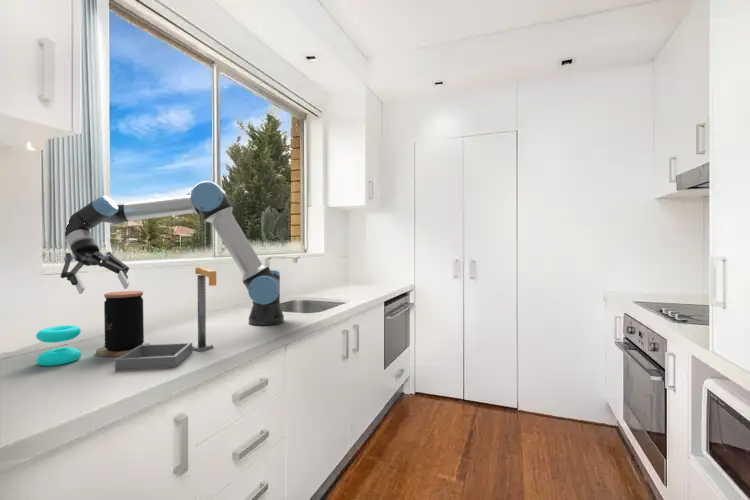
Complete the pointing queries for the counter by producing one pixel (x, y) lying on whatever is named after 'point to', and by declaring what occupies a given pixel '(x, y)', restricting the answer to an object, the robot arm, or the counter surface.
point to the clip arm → (207, 274)
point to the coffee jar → (123, 320)
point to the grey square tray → (134, 362)
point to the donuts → (58, 354)
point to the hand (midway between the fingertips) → (105, 288)
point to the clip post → (201, 316)
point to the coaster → (105, 353)
